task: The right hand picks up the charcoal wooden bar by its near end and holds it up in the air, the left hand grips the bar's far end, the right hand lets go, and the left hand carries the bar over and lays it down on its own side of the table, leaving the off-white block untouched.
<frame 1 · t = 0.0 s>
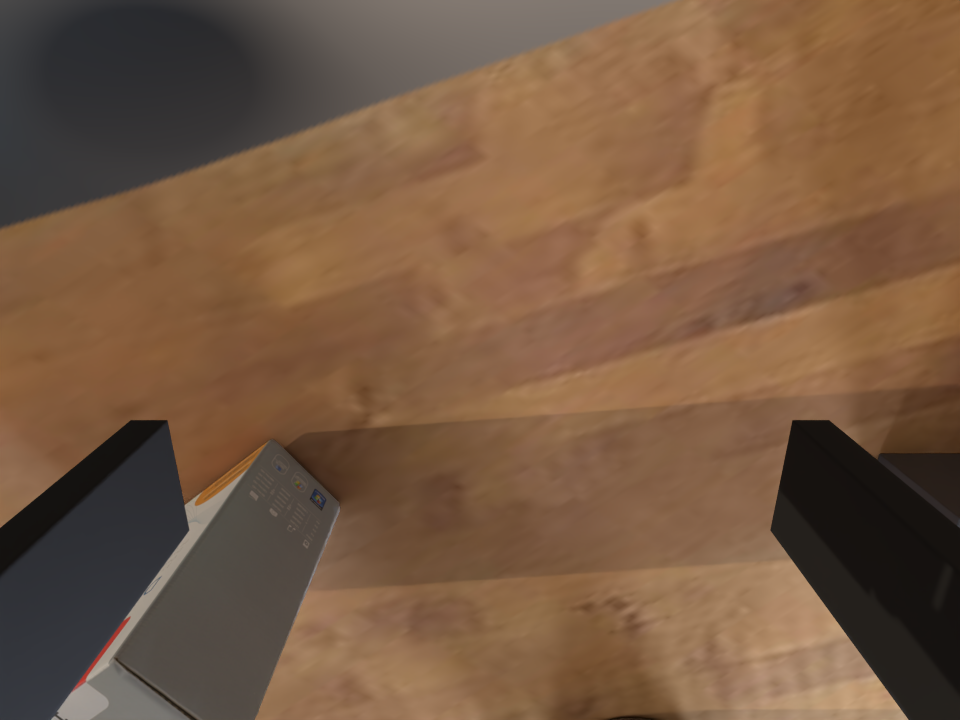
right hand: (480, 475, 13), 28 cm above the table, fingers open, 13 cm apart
hard drive box: (237, 522, 47), on the table
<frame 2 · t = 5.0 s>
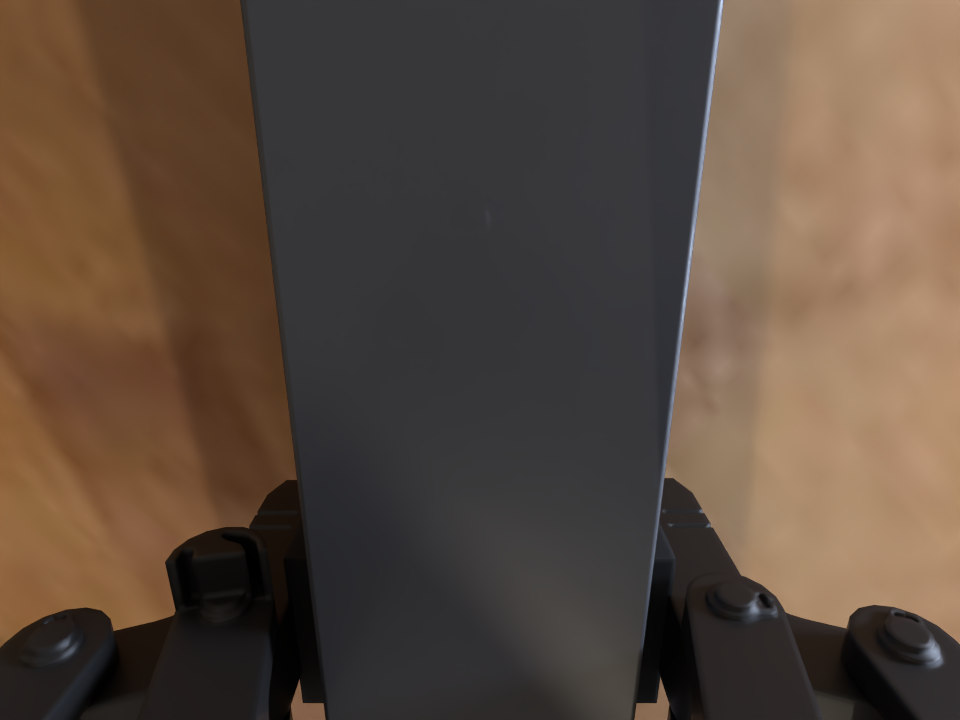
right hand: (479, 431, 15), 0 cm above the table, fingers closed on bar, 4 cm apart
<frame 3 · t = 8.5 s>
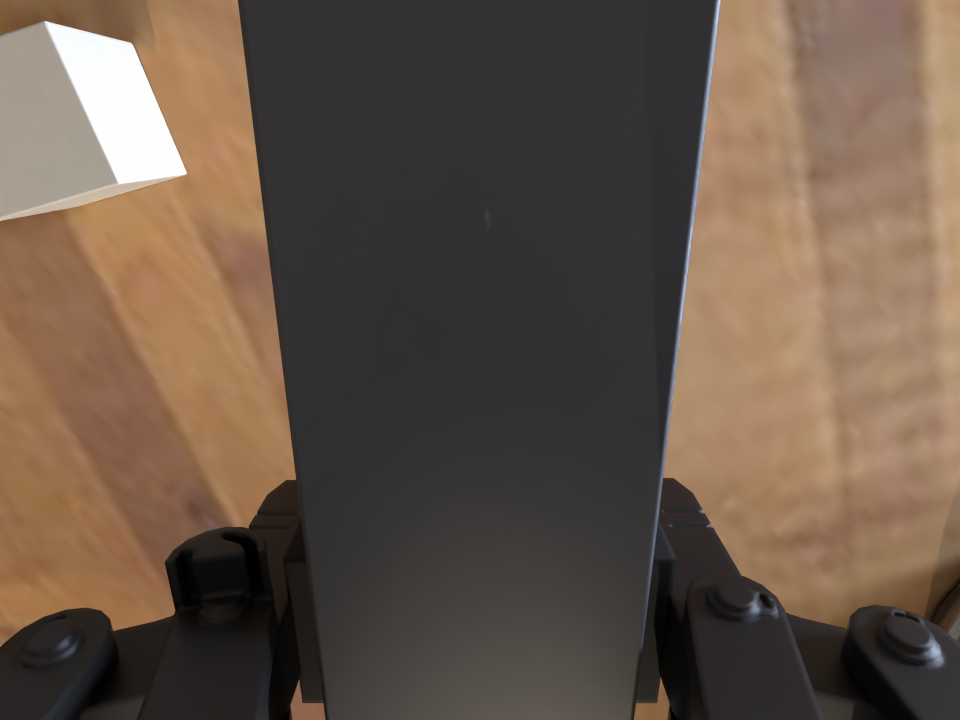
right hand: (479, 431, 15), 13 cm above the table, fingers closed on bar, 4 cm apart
block: (104, 128, 24), on the table
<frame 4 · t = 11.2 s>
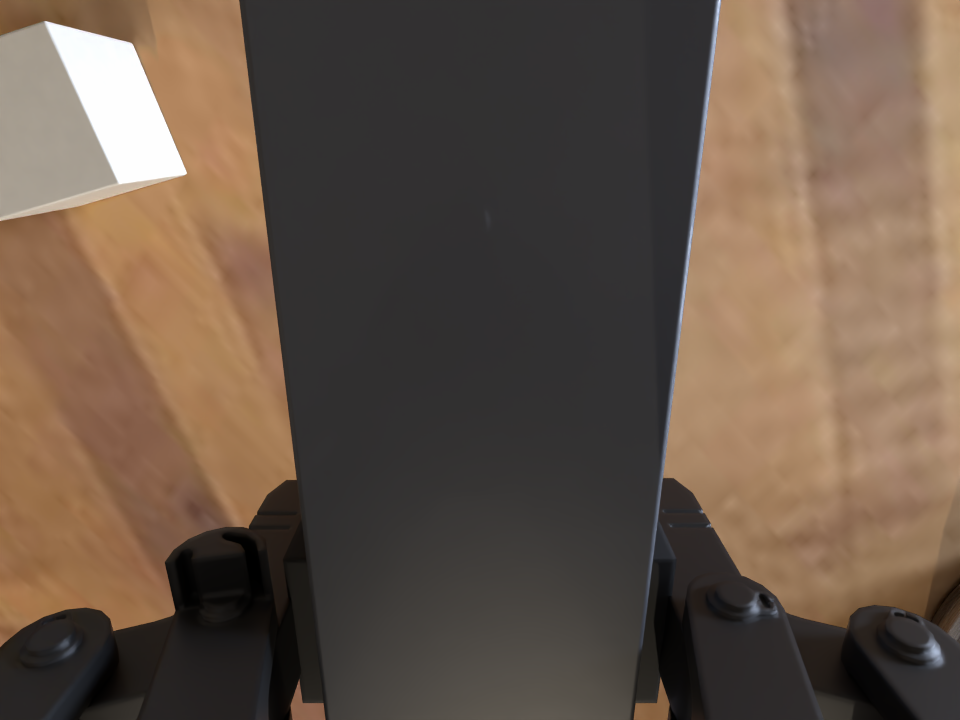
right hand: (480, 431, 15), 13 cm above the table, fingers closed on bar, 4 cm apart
block: (104, 128, 24), on the table
when the right hand's fingers open (13 cm above the table, at t = 12.0 s): bar stays where it is, held by the left hand.
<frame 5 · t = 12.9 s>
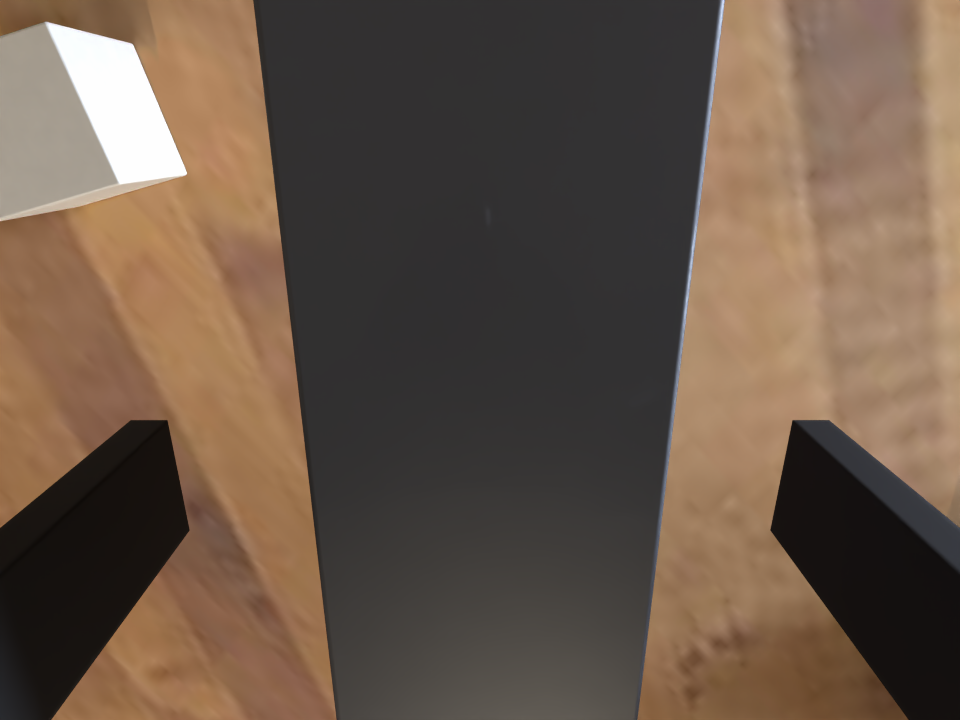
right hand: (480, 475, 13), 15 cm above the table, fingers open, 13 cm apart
block: (104, 128, 24), on the table
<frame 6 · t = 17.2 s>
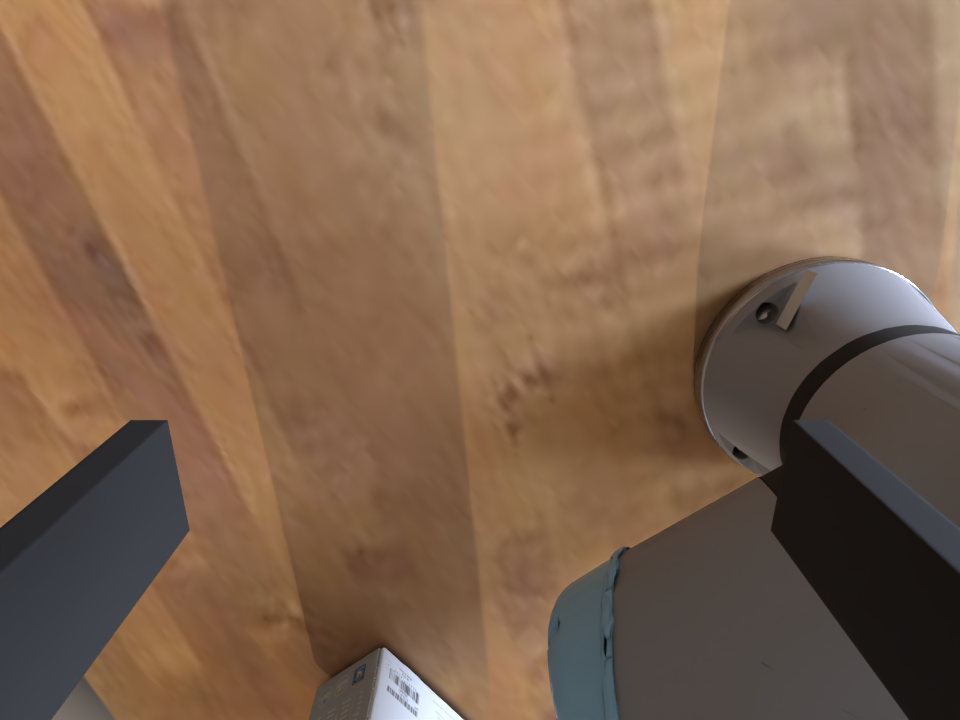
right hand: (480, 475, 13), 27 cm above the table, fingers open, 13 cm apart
hard drive box: (410, 715, 52), on the table
when the left hand's fingers open (5 cm above the table, at t = 23.2 s): bar drops 2 cm, on the table.
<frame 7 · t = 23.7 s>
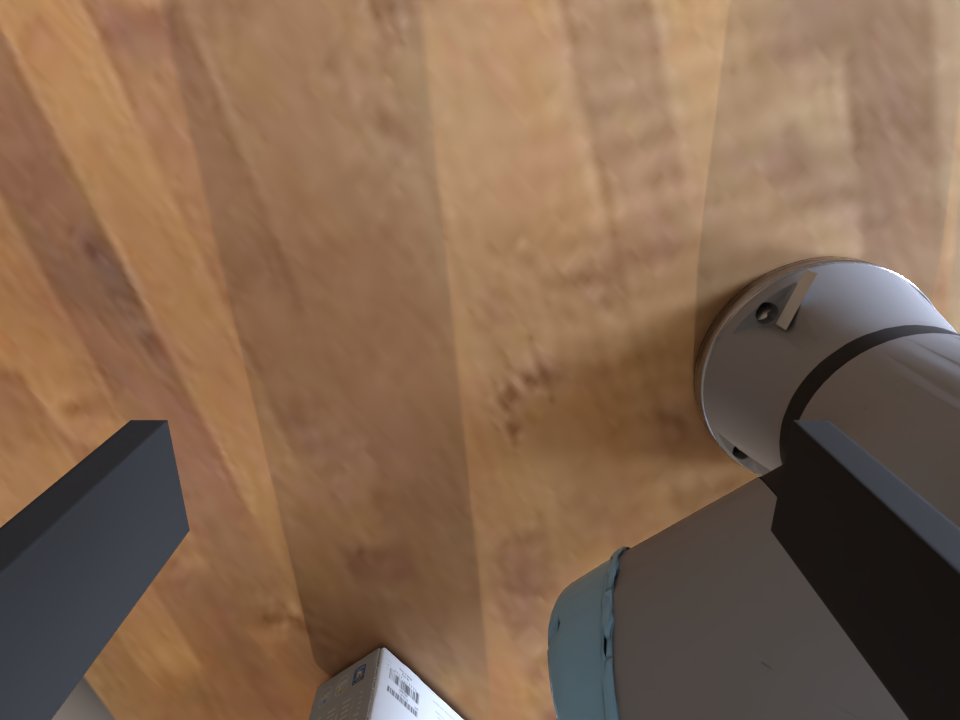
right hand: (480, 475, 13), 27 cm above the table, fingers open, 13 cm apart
hard drive box: (410, 715, 52), on the table
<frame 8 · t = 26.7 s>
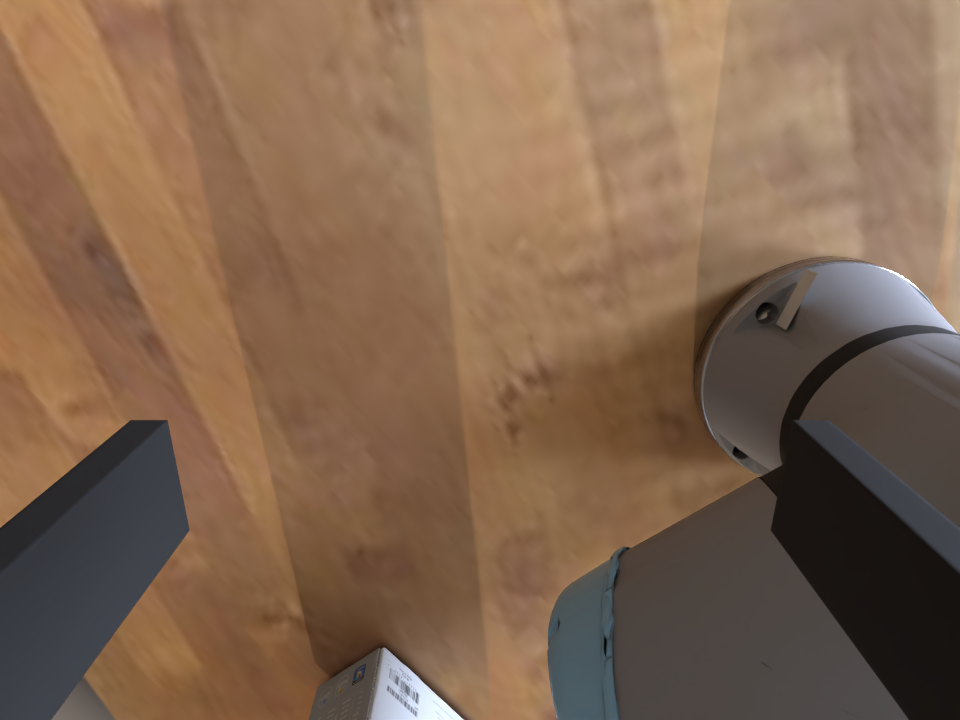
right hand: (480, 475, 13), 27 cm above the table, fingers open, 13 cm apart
hard drive box: (410, 715, 52), on the table
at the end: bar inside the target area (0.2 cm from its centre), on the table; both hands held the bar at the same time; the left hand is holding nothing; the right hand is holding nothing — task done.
